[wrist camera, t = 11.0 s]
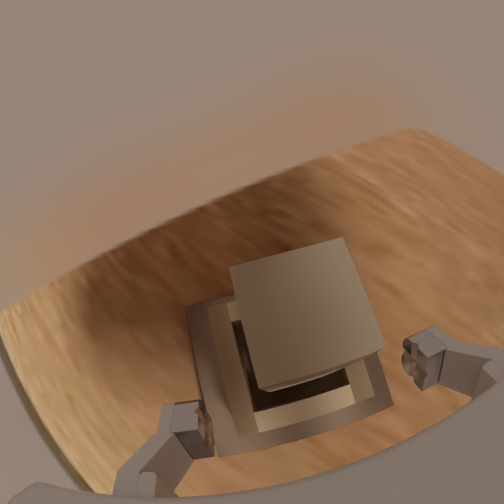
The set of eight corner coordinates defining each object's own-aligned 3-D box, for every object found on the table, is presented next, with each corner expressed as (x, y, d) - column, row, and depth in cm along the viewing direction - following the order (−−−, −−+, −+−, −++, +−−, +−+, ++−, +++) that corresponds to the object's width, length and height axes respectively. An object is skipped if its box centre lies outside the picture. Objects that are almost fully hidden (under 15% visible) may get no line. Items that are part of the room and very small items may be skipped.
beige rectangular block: (306, 328, 19) (342, 237, 9) (321, 377, 17) (386, 346, 7) (256, 342, 19) (228, 267, 8) (269, 392, 17) (258, 388, 7)
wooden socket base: (340, 271, 22) (352, 244, 18) (387, 404, 17) (411, 405, 13) (189, 311, 22) (171, 292, 18) (222, 453, 16) (208, 466, 13)
